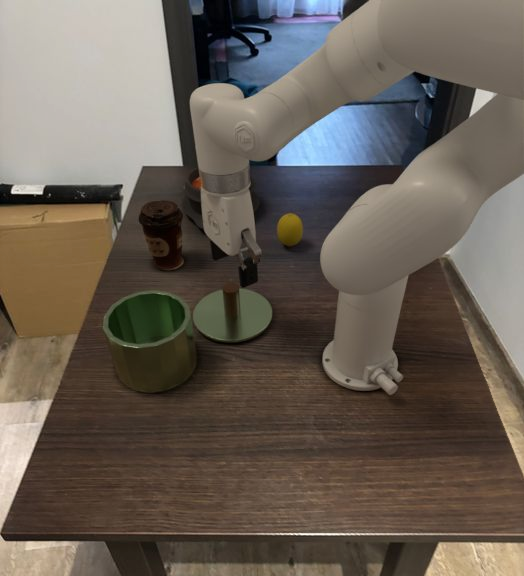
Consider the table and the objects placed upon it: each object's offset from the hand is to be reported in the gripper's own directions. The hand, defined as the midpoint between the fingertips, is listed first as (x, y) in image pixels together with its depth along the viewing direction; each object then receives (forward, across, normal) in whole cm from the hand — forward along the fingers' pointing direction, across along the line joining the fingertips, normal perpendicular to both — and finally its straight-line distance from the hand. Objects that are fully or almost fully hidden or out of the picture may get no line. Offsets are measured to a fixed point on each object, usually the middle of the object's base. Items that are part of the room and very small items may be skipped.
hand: (234, 270), depth 91 cm
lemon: (+11, -15, +21) cm, 29 cm away
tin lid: (+10, -1, -1) cm, 11 cm away
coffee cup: (+10, -24, -4) cm, 27 cm away
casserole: (+10, -37, +16) cm, 42 cm away
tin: (+11, +2, -18) cm, 21 cm away
